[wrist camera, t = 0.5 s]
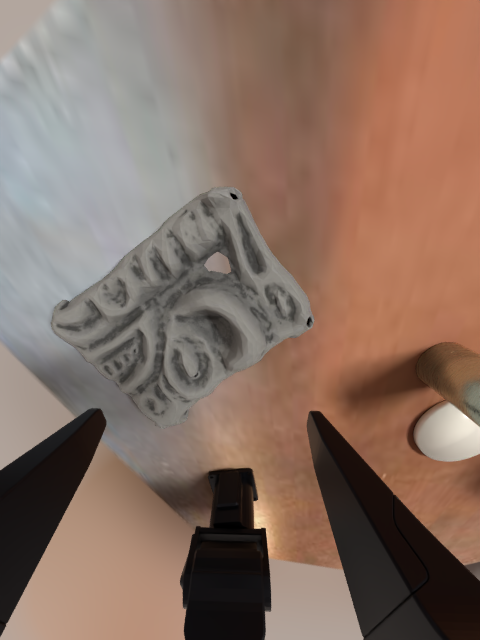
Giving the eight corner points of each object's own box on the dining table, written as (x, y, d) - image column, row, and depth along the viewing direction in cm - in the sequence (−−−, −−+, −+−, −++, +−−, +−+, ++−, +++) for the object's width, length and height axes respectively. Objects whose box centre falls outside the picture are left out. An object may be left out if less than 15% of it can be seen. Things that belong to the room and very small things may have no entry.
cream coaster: (487, 452, 29) (494, 457, 28) (409, 459, 30) (413, 464, 29) (506, 391, 26) (514, 396, 25) (418, 401, 26) (423, 405, 26)
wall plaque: (170, 422, 29) (160, 448, 26) (57, 313, 24) (23, 326, 20) (328, 330, 24) (343, 347, 20) (226, 166, 19) (222, 148, 15)
